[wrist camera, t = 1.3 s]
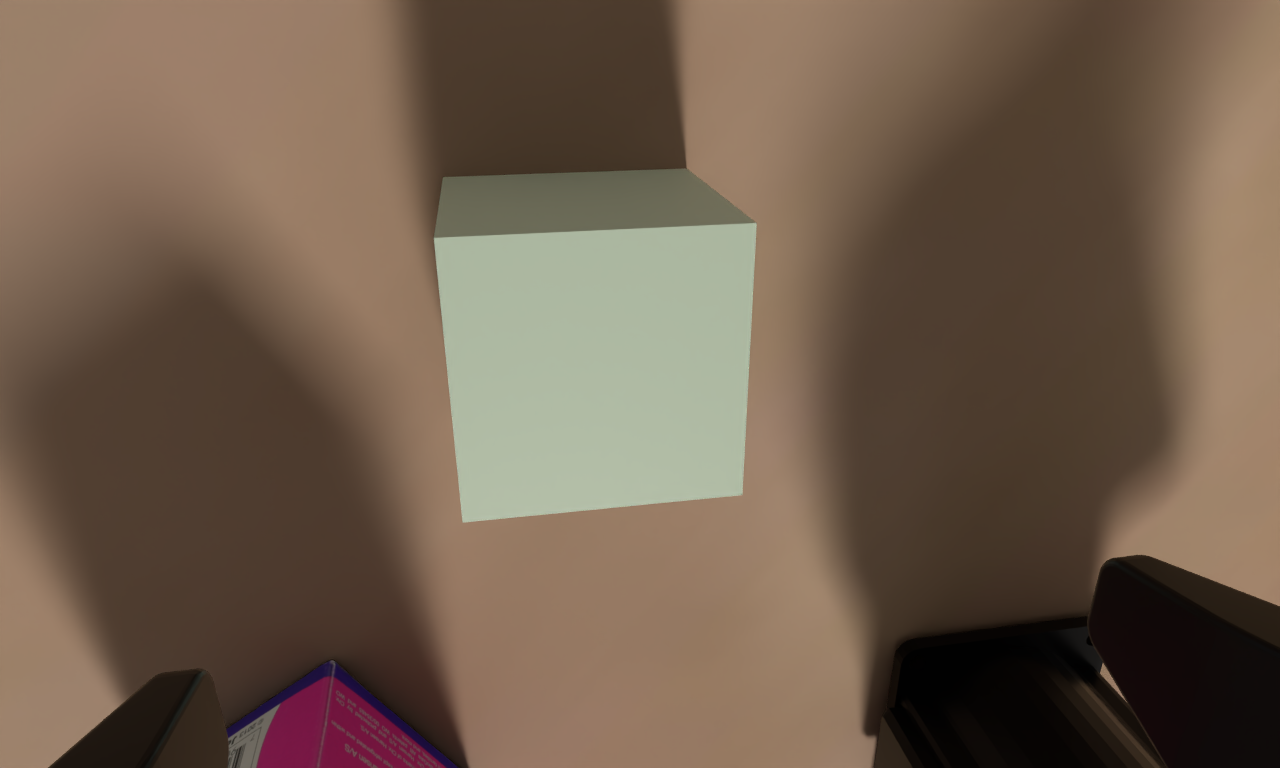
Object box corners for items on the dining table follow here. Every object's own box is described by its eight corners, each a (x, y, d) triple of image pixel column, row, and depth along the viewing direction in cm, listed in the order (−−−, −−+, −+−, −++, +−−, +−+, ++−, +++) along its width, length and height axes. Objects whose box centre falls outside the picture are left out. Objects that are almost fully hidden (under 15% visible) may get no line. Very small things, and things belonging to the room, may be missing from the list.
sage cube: (685, 167, 18) (756, 223, 14) (681, 384, 20) (742, 494, 16) (443, 176, 17) (433, 237, 13) (464, 401, 19) (462, 523, 15)
